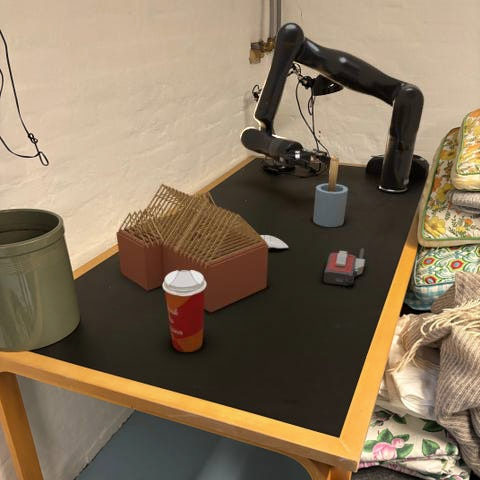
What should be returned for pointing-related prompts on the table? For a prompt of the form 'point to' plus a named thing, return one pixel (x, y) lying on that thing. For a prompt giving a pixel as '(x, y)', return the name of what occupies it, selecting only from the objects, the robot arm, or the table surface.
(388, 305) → the table surface
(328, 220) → the jar
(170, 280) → the paper cup
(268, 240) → the pincushion
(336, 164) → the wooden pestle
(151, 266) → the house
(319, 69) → the robot arm
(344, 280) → the walkie-talkie
